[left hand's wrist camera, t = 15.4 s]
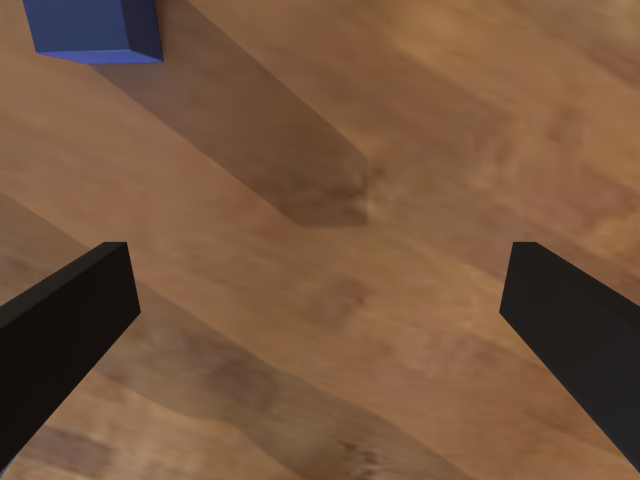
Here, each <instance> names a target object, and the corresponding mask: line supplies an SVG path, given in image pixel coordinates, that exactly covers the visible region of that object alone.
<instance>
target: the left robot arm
mask: <svg viewBox="0 0 640 480" xmlns="http://www.w3.org/2000/svg"><path fill="white" fill-rule="evenodd" d="M140 313H141V310H140V305H139V300H138V295H137V290H136V285H135V281H134V276H133V271H132V266H131V261H130V256H129V251H128V246H127V242H103V243H102V244H100V245H98V246H97V247H95V248H94V249H92V250H90V251H89V252H87V253H86V254H84V255H82V256H81V257H79V258H78V259H76V260H74V261H73V262H71V263H70V264H68V265H66V266H65V267H63V268H62V269H60V270H58V271H57V272H55V273H54V274H52V275H50V276H49V277H47V278H45V279H44V280H42V281H41V282H39V283H37V284H36V285H34V286H33V287H31V288H29V289H28V290H26V291H25V292H23V293H21V294H20V295H18V296H17V297H15V298H13V299H12V300H10V301H9V302H7V303H5V304H4V305H2V306H1V307H0V473H1V472H2V471H3V469H4V468H5V467H6V466H7V465H8V464H9V463H10V461H11V460H12V459H13V458H14V457H15V456H16V455H17V453H18V452H19V451H20V450H21V449H22V448H23V447H24V445H25V444H26V443H27V442H28V441H29V440H30V439H31V437H32V436H33V435H34V434H35V433H36V432H37V431H38V429H39V428H40V427H41V426H42V425H43V424H44V423H45V421H46V420H47V419H48V418H49V417H50V416H51V415H52V413H53V412H54V411H55V410H56V409H57V408H58V407H59V405H60V404H61V403H62V402H63V401H64V400H65V399H66V397H67V396H68V395H69V394H70V393H71V392H72V391H73V389H74V388H75V387H76V386H77V385H78V384H79V383H80V381H81V380H82V379H83V378H84V377H85V376H86V375H87V373H88V372H89V371H90V370H91V369H92V368H93V367H94V365H95V364H96V363H97V362H98V361H99V360H100V359H101V357H102V356H103V355H104V354H105V353H106V352H107V351H108V349H109V348H110V347H111V346H112V345H113V344H114V343H115V341H116V340H117V339H118V338H119V337H120V336H121V335H122V333H123V332H124V331H125V330H126V329H127V328H128V327H129V325H130V324H131V323H132V322H133V321H134V320H135V319H136V317H137V316H138V315H139V314H140ZM499 313H500V314H501V315H502V316H503V317H504V319H505V320H506V321H507V322H508V323H509V324H510V325H511V327H512V328H513V329H514V330H515V331H516V332H517V333H518V335H519V336H520V337H521V338H522V339H523V340H524V341H525V343H526V344H527V345H528V346H529V347H530V348H531V349H532V351H533V352H534V353H535V354H536V355H537V356H538V357H539V359H540V360H541V361H542V362H543V363H544V364H545V365H546V367H547V368H548V369H549V370H550V371H551V372H552V373H553V375H554V376H555V377H556V378H557V379H558V380H559V381H560V383H561V384H562V385H563V386H564V387H565V388H566V389H567V391H568V392H569V393H570V394H571V395H572V396H573V397H574V399H575V400H576V401H577V402H578V403H579V404H580V405H581V407H582V408H583V409H584V410H585V411H586V412H587V413H588V415H589V416H590V417H591V418H592V419H593V420H594V421H595V423H596V424H597V425H598V426H599V427H600V428H601V429H602V431H603V432H604V433H605V434H606V435H607V436H608V437H609V439H610V440H611V441H612V442H613V443H614V444H615V445H616V447H617V448H618V449H619V450H620V451H621V452H622V453H623V455H624V456H625V457H626V458H627V459H628V460H629V461H630V463H631V464H632V465H633V466H634V467H635V468H636V469H637V471H638V472H639V473H640V307H639V306H638V305H636V304H635V303H633V302H631V301H630V300H628V299H627V298H625V297H623V296H622V295H620V294H619V293H617V292H615V291H614V290H612V289H611V288H609V287H607V286H606V285H604V284H603V283H601V282H599V281H598V280H596V279H595V278H593V277H591V276H590V275H588V274H586V273H585V272H583V271H582V270H580V269H578V268H577V267H575V266H574V265H572V264H570V263H569V262H567V261H566V260H564V259H562V258H561V257H559V256H558V255H556V254H554V253H553V252H551V251H550V250H548V249H546V248H545V247H543V246H542V245H540V244H538V243H537V242H513V246H512V251H511V256H510V261H509V266H508V271H507V276H506V281H505V285H504V290H503V295H502V300H501V305H500V310H499Z"/></svg>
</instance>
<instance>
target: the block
mask: <svg viewBox="0 0 640 480" xmlns="http://www.w3.org/2000/svg"><path fill="white" fill-rule="evenodd" d="M23 4H24V8H25V11H26V15H27V19H28V23H29V27H30V31H31V34H32V38H33V42H34V46H35V50H36V52H37V53H38V54H42V55H47V56H51V57H56V58H61V59H65V60H70V61H74V62H79V63H84V64H113V63H146V62H163V55H162V48H161V42H160V36H159V29H158V23H157V16H156V10H155V4H154V0H23Z"/></svg>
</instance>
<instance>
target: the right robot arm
mask: <svg viewBox="0 0 640 480" xmlns="http://www.w3.org/2000/svg"><path fill="white" fill-rule="evenodd" d="M14 458H15V457H14ZM14 458H13V459H12V460H11V461H10V463H9V464H8V465H7V466H6V467H5V468H4V469H3V471H2V472H1V473H0V478H1V477H2V475H3V474H4V472H5V471H6V469H7V468H8V466H9V465H10V464H11V462H12V461H13V460H14Z"/></svg>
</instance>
